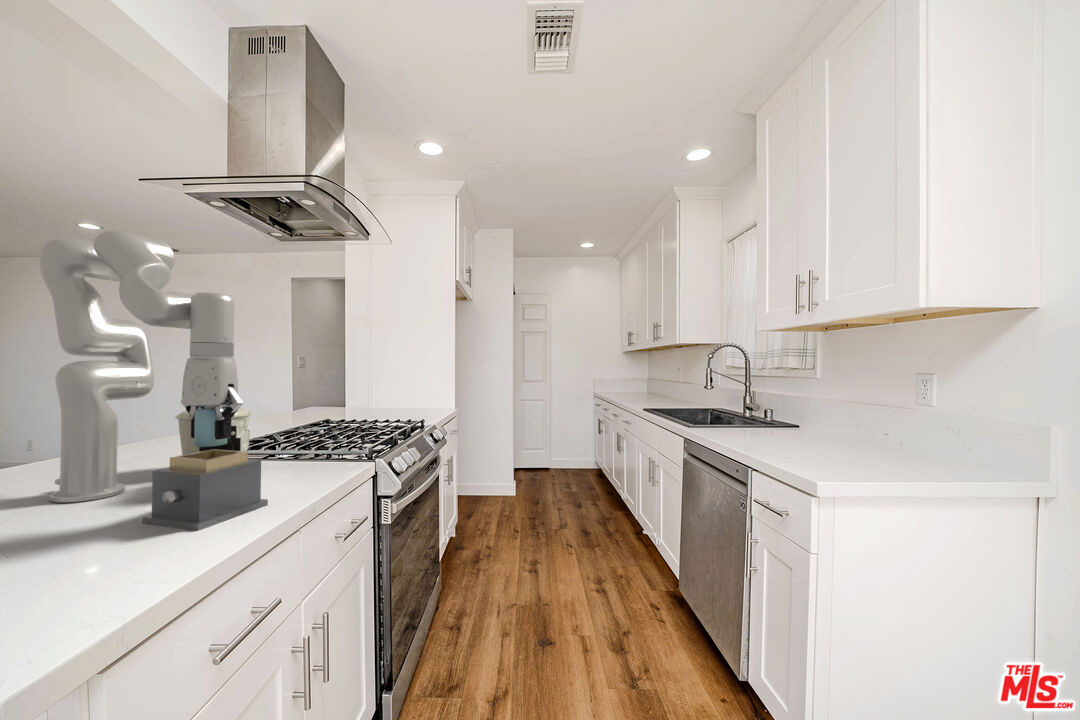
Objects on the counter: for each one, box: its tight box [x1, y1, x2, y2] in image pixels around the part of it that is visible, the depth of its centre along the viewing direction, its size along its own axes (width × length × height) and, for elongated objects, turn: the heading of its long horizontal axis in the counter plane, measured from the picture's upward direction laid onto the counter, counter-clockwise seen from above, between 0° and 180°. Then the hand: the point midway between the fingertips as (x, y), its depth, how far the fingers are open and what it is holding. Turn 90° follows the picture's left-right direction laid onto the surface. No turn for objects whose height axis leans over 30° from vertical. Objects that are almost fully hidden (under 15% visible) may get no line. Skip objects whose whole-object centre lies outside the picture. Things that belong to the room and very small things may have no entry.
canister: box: [175, 407, 253, 455], centre depth 131 cm, size 18×18×21 cm
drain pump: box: [194, 406, 227, 447], centre depth 96 cm, size 6×7×9 cm
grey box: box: [141, 449, 269, 531], centre depth 95 cm, size 14×17×12 cm
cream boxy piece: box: [199, 419, 250, 452], centre depth 116 cm, size 18×8×18 cm, turn 25°
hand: (211, 436), depth 95 cm, fingers closed on drain pump, 5 cm apart
